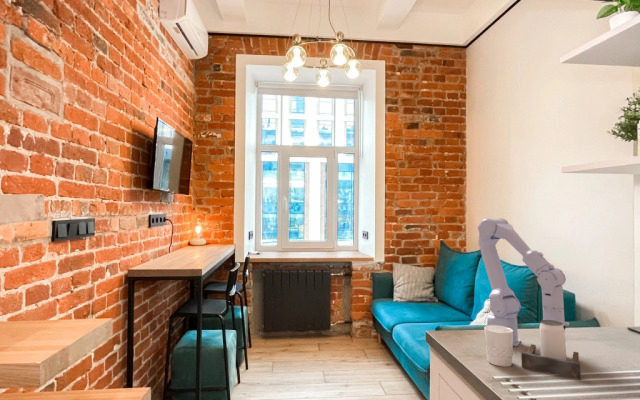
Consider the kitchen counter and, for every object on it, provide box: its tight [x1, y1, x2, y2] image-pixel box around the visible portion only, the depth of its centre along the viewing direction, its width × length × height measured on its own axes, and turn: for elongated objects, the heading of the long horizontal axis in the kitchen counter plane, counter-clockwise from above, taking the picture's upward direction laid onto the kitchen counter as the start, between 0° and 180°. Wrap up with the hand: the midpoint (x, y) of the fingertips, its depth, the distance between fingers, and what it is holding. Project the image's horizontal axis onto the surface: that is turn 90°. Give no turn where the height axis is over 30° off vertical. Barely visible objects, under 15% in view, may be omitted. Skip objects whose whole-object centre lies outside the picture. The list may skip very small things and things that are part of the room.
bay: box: [521, 343, 582, 381], centre depth 106 cm, size 14×14×4 cm
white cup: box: [483, 325, 514, 368], centre depth 109 cm, size 8×8×10 cm
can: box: [539, 319, 567, 361], centre depth 108 cm, size 6×6×12 cm
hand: (555, 350), depth 113 cm, fingers open, 4 cm apart
